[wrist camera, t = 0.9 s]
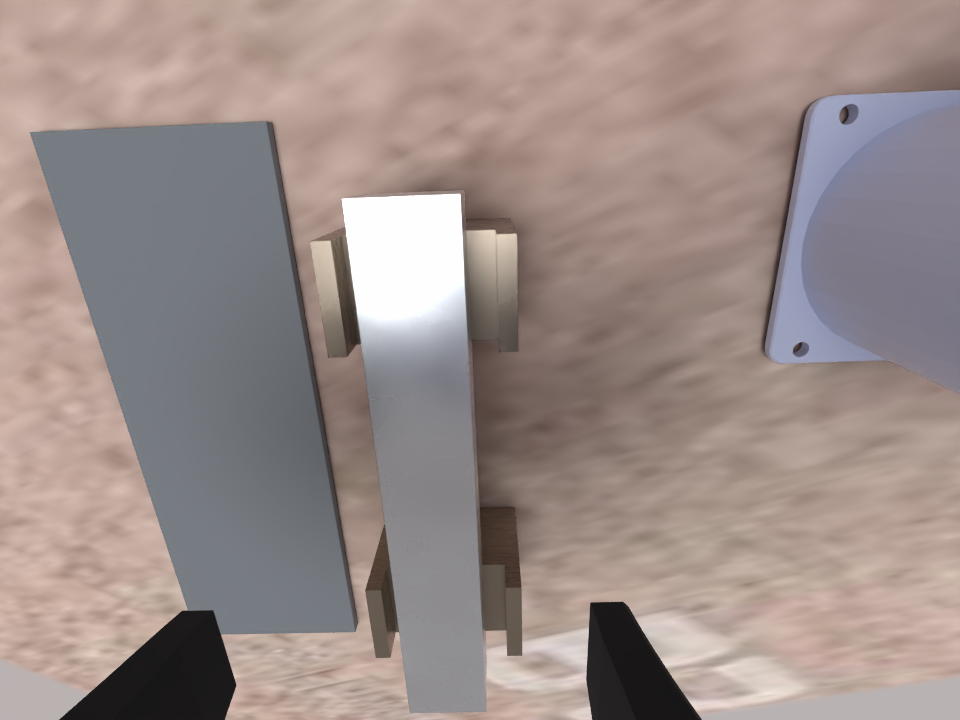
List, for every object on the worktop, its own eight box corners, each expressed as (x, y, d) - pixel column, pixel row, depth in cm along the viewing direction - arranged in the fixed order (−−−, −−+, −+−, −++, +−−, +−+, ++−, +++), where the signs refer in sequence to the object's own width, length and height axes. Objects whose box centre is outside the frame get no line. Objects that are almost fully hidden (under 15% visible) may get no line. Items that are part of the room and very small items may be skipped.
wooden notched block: (509, 218, 16) (516, 233, 12) (511, 310, 17) (518, 351, 13) (352, 224, 16) (309, 241, 12) (363, 316, 17) (328, 357, 13)
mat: (271, 122, 15) (265, 121, 14) (357, 624, 22) (355, 632, 22) (41, 133, 15) (29, 132, 15) (201, 626, 22) (196, 634, 22)
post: (514, 507, 20) (521, 587, 16) (515, 567, 21) (522, 655, 17) (388, 510, 20) (365, 590, 16) (395, 570, 21) (376, 657, 17)
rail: (464, 189, 12) (459, 193, 10) (486, 650, 18) (486, 712, 16) (365, 193, 13) (341, 198, 11) (418, 651, 18) (409, 712, 16)
